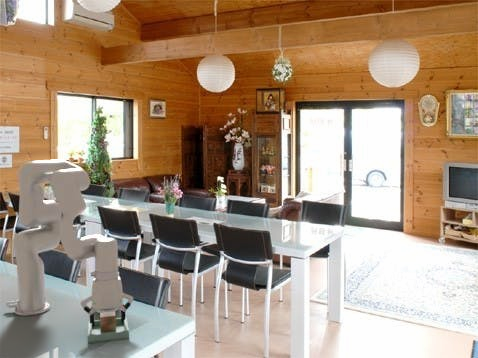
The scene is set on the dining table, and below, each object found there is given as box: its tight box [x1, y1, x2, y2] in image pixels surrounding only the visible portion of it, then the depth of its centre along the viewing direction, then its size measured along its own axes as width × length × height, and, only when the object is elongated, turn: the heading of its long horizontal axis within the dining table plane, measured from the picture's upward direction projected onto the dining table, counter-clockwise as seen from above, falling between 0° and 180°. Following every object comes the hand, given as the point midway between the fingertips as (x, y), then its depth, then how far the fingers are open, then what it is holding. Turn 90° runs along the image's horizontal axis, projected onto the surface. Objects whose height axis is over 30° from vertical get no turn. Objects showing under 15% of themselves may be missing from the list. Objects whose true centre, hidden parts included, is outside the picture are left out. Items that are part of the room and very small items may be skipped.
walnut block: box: [99, 311, 117, 333], centre depth 162 cm, size 5×5×6 cm
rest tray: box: [87, 316, 130, 344], centre depth 162 cm, size 13×13×3 cm
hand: (107, 323), depth 162 cm, fingers open, 9 cm apart
